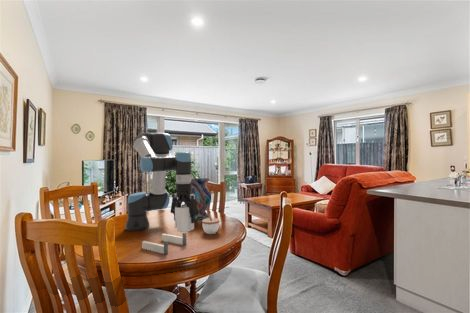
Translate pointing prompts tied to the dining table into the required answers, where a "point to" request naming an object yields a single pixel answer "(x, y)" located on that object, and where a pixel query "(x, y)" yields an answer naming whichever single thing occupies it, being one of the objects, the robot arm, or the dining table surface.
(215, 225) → the lidded jar
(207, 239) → the dining table surface
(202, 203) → the vase
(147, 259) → the dining table surface
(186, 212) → the cup
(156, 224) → the dining table surface
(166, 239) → the pair of white bars
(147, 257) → the dining table surface
